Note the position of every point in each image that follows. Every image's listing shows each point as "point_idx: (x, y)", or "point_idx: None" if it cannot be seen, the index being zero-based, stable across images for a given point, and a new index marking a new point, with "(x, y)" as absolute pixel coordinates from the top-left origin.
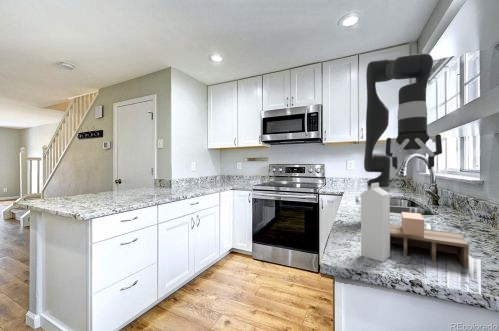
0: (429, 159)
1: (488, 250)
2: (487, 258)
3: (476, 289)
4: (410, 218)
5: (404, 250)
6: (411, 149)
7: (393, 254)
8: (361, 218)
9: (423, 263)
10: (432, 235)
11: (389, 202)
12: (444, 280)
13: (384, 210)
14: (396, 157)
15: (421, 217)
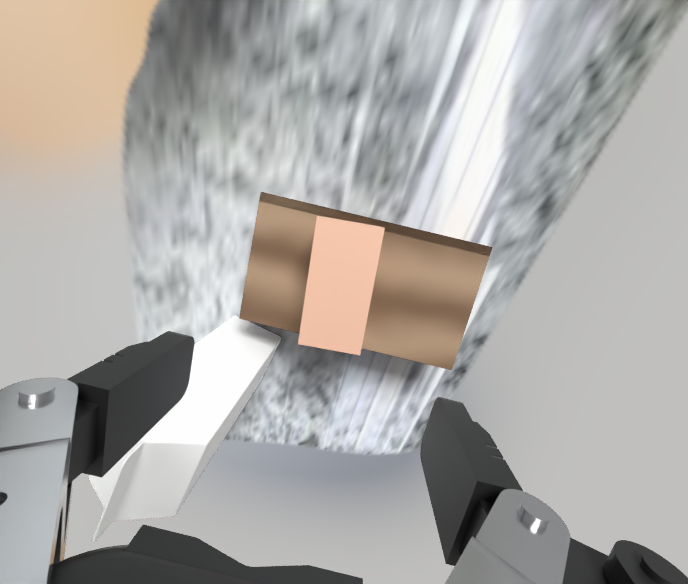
0: (447, 533)
1: (574, 171)
2: (523, 255)
3: (400, 440)
4: (320, 347)
5: None
6: (232, 581)
7: None
8: None
9: None
10: (390, 309)
11: (223, 423)
12: (360, 424)
13: (213, 452)
14: (90, 461)
15: (364, 314)
